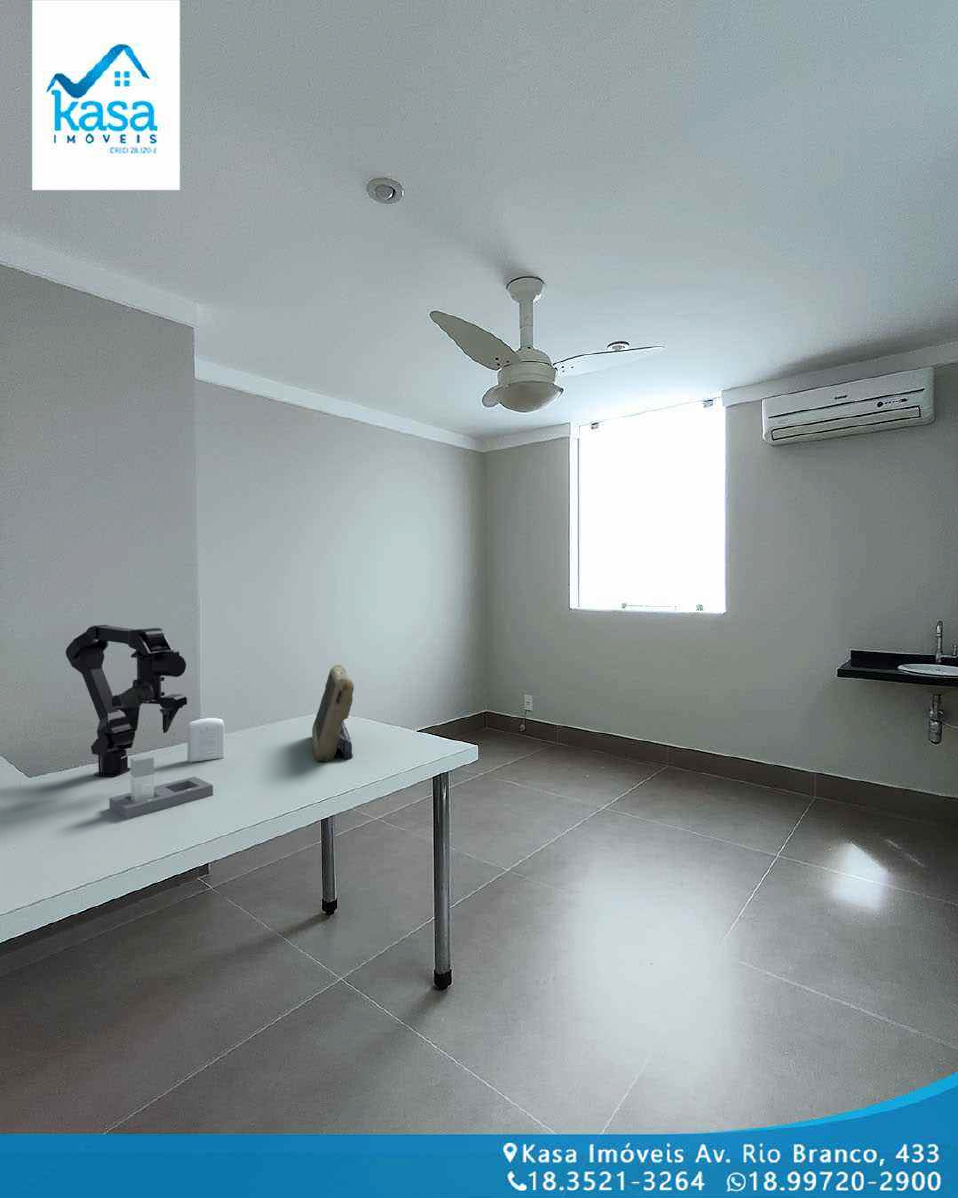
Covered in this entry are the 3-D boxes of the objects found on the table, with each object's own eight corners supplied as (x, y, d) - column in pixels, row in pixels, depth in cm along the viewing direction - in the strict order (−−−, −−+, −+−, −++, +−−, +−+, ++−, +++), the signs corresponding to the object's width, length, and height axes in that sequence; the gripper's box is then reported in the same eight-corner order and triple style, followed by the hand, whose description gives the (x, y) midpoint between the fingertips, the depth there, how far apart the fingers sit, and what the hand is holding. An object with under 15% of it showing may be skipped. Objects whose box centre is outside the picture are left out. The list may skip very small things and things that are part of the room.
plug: (131, 806, 141) (130, 757, 140) (149, 802, 143) (149, 753, 143) (136, 812, 137) (135, 761, 137) (155, 808, 140) (154, 758, 139)
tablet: (304, 736, 204) (303, 665, 203) (344, 733, 209) (344, 663, 208) (316, 764, 174) (315, 680, 173) (363, 759, 179) (363, 677, 178)
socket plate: (109, 808, 139) (109, 797, 139) (194, 785, 155) (194, 775, 155) (125, 819, 133) (125, 807, 133) (212, 794, 149) (212, 784, 148)
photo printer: (223, 754, 183) (222, 715, 182) (225, 758, 179) (225, 717, 179) (186, 760, 177) (186, 719, 176) (188, 763, 173) (188, 722, 173)
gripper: (94, 678, 152) (95, 738, 153) (160, 680, 149) (160, 741, 150) (126, 672, 163) (127, 727, 164) (188, 673, 160) (188, 730, 161)
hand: (149, 732), depth 159 cm, fingers open, 9 cm apart
